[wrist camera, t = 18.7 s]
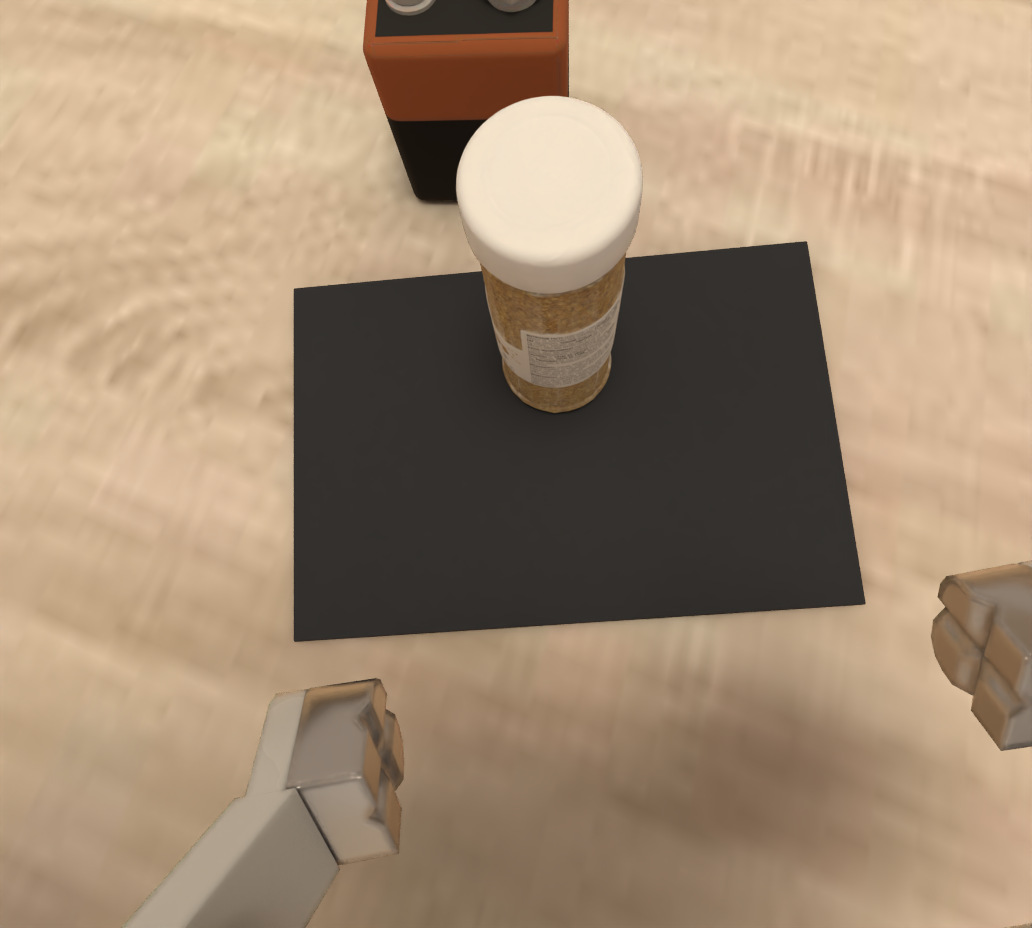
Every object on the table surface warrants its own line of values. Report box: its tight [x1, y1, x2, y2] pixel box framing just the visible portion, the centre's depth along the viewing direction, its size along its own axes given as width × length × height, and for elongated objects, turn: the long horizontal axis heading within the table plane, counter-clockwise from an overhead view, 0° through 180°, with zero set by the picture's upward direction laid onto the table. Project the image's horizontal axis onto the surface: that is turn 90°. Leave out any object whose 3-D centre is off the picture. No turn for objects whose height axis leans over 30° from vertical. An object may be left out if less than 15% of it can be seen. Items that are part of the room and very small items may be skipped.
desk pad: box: [294, 242, 865, 642], centre depth 30 cm, size 22×15×1 cm
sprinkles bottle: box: [456, 96, 643, 413], centre depth 24 cm, size 5×5×13 cm
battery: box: [363, 0, 569, 200], centre depth 28 cm, size 4×7×10 cm, turn 88°
